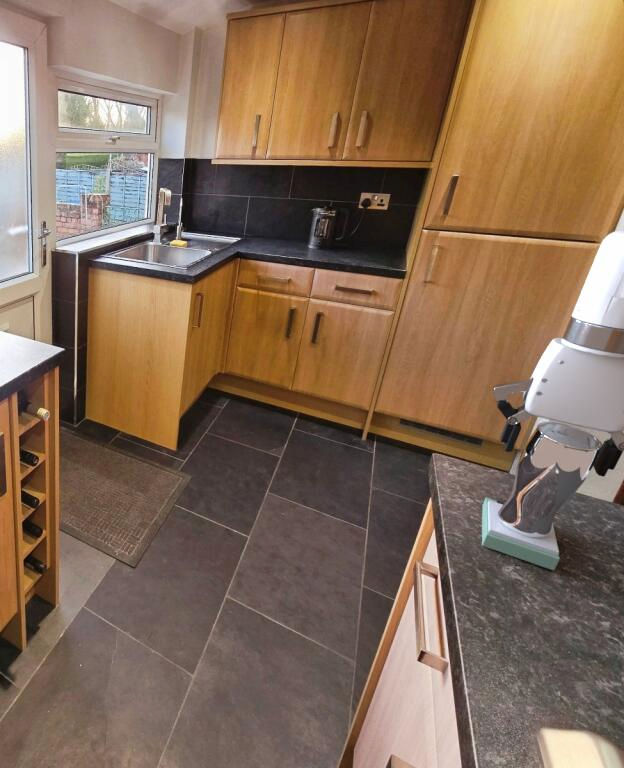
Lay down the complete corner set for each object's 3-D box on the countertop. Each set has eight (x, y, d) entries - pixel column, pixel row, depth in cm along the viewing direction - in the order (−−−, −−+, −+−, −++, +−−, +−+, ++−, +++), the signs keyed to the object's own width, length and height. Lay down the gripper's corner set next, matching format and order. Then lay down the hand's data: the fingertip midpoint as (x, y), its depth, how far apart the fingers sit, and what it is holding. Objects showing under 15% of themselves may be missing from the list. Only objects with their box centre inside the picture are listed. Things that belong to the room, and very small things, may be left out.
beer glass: (564, 533, 69) (617, 444, 62) (532, 546, 67) (583, 455, 60) (513, 501, 75) (556, 416, 68) (481, 512, 72) (523, 426, 65)
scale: (481, 507, 78) (487, 494, 77) (545, 527, 74) (552, 513, 73) (482, 545, 70) (488, 531, 69) (554, 571, 66) (561, 555, 65)
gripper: (696, 344, 58) (631, 468, 65) (515, 318, 67) (474, 429, 74) (720, 361, 53) (646, 496, 59) (518, 330, 61) (474, 450, 68)
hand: (551, 459), depth 66 cm, fingers open, 9 cm apart
